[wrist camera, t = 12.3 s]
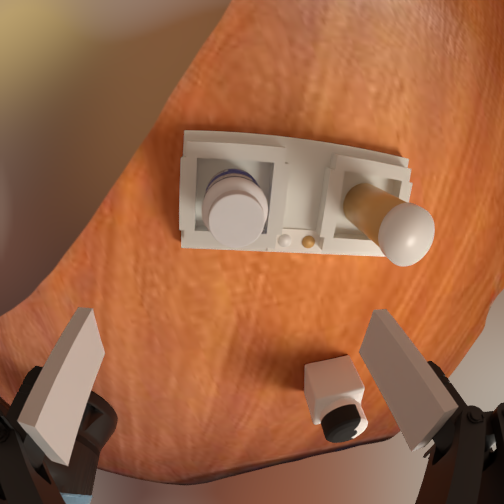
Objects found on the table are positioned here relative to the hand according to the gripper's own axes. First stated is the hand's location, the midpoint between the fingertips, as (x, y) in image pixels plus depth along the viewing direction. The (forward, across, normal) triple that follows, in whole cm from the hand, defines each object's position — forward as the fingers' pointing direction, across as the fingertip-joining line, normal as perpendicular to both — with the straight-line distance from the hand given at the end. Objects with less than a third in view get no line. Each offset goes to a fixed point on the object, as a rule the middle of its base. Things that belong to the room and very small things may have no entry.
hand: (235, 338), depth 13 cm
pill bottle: (+18, +1, +2) cm, 18 cm away
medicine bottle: (+20, +16, -25) cm, 36 cm away
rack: (+19, +8, +2) cm, 21 cm away
